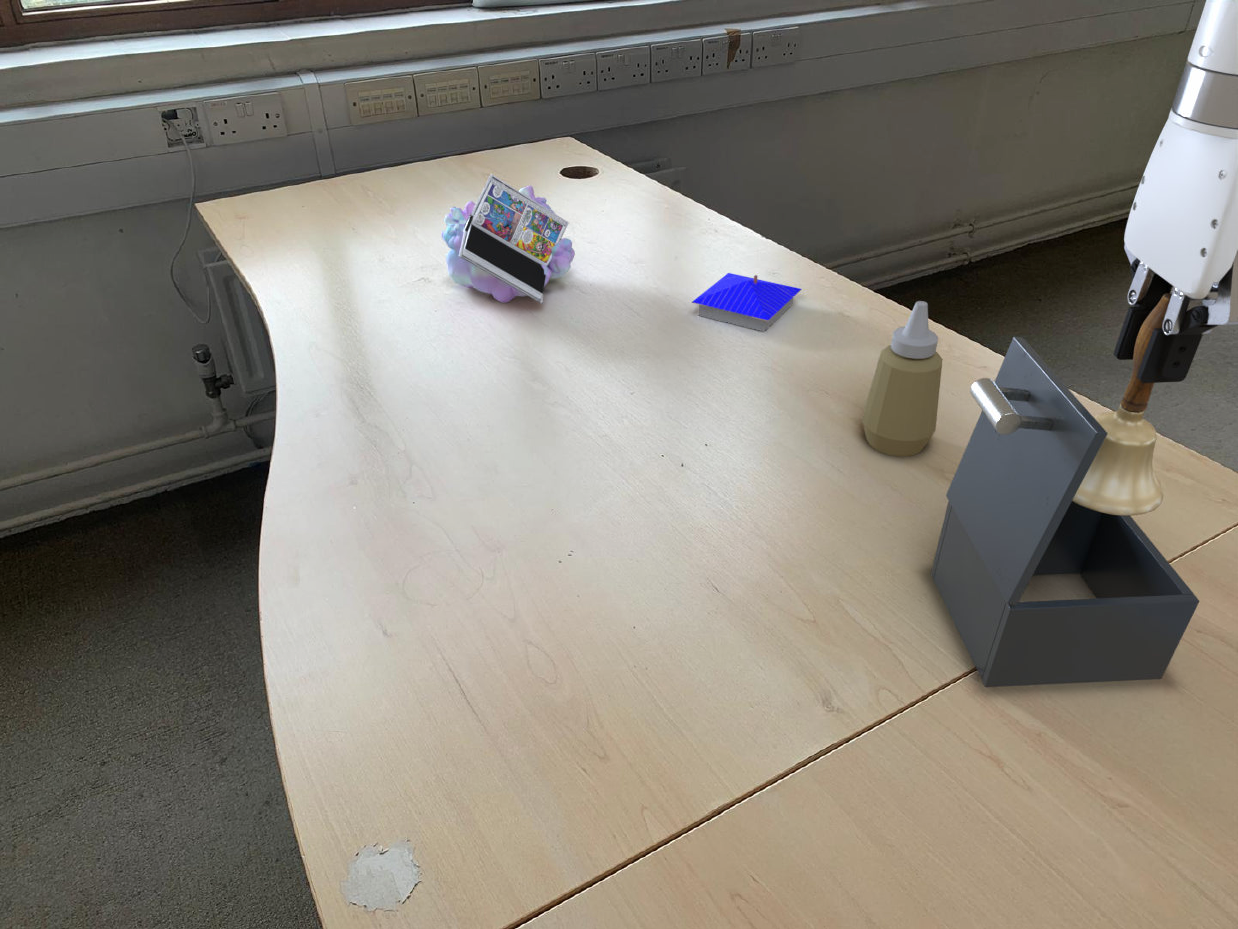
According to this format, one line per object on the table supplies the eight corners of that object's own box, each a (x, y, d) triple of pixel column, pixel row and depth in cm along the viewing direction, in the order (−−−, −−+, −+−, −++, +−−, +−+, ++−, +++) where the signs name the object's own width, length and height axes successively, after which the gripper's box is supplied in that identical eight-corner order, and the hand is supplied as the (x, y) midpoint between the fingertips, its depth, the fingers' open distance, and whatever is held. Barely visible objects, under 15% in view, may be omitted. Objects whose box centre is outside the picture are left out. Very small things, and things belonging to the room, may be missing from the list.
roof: (766, 335, 126) (770, 300, 123) (691, 316, 131) (692, 282, 128) (800, 303, 134) (803, 269, 131) (727, 286, 139) (729, 253, 136)
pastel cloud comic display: (516, 217, 153) (464, 137, 138) (617, 238, 141) (573, 154, 127) (452, 311, 147) (392, 239, 133) (553, 341, 136) (498, 265, 121)
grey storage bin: (1081, 575, 85) (1112, 493, 79) (1157, 687, 74) (1200, 601, 68) (928, 582, 85) (948, 499, 79) (982, 696, 73) (1010, 609, 68)
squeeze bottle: (920, 476, 98) (952, 327, 88) (848, 456, 102) (871, 310, 91) (938, 440, 104) (970, 296, 94) (869, 422, 107) (893, 281, 97)
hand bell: (1184, 490, 70) (1265, 299, 60) (1124, 530, 66) (1201, 333, 57) (1084, 443, 75) (1145, 261, 66) (1024, 477, 71) (1079, 290, 62)
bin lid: (1023, 337, 70) (962, 330, 69) (1108, 433, 59) (1037, 426, 58) (954, 496, 79) (899, 491, 78) (1016, 605, 68) (954, 601, 67)
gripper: (1411, 134, 47) (1270, 428, 58) (1228, 67, 60) (1140, 317, 71) (1271, 138, 47) (1155, 432, 58) (1118, 70, 60) (1046, 320, 71)
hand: (1148, 366), depth 64 cm, fingers closed on hand bell, 2 cm apart
